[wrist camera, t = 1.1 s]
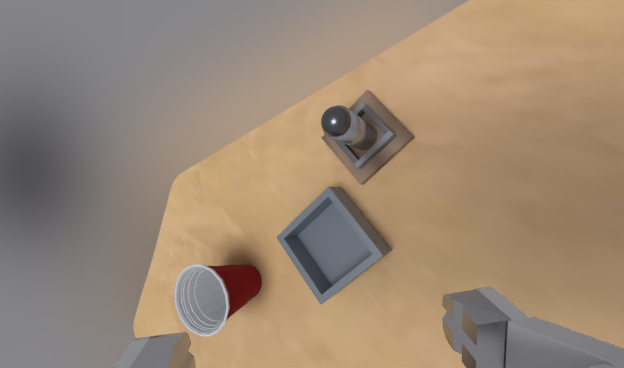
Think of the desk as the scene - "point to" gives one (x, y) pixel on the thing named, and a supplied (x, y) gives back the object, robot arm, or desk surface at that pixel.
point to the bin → (332, 243)
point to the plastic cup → (213, 295)
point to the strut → (348, 128)
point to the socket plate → (385, 148)
